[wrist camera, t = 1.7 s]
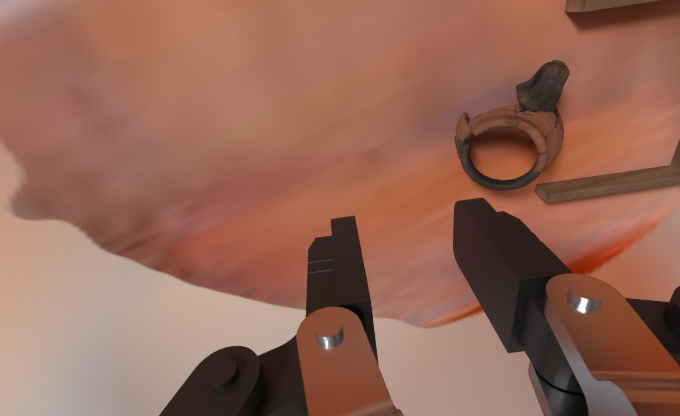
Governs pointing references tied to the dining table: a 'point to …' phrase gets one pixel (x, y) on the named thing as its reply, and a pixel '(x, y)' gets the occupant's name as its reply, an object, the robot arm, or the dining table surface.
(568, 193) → the wooden corral
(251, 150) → the dining table surface
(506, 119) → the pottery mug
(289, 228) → the dining table surface
